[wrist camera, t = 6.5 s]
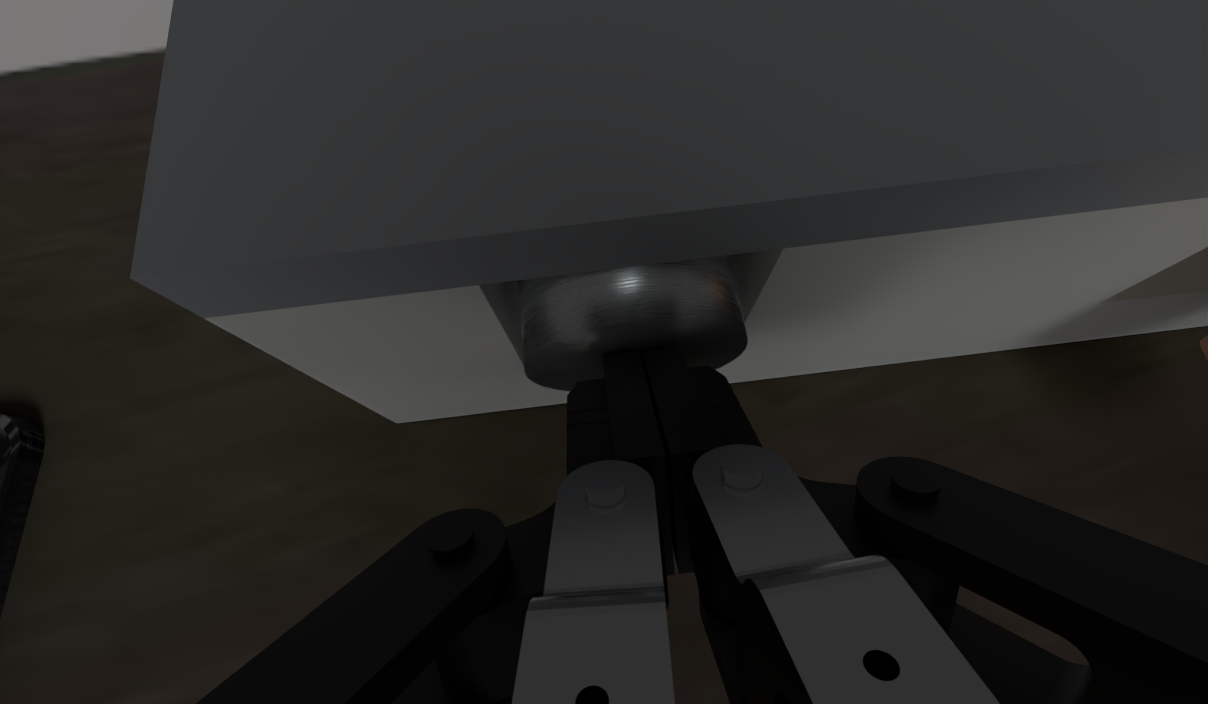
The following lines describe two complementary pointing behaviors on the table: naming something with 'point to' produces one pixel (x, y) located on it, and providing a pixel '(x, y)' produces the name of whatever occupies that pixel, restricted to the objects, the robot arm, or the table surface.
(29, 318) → the table surface
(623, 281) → the black glossy rounded piece
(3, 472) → the phone
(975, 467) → the table surface
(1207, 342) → the brown clay cylinder
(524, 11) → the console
